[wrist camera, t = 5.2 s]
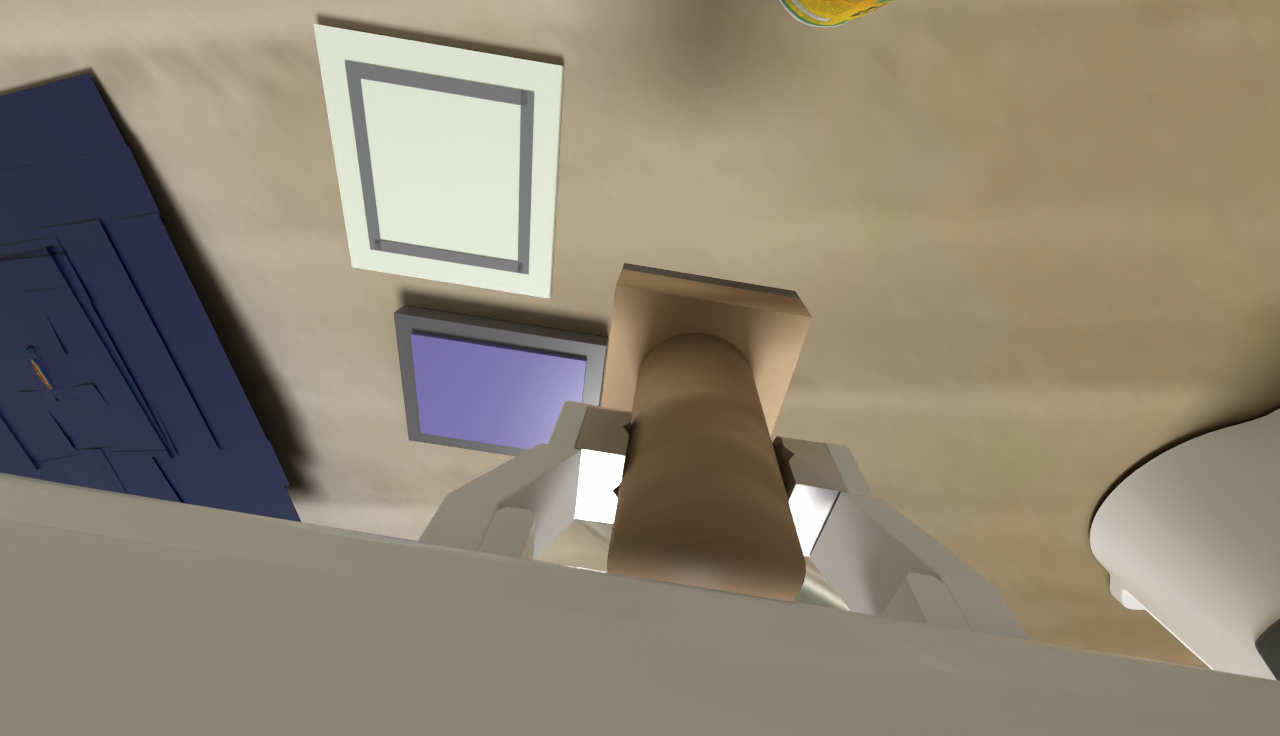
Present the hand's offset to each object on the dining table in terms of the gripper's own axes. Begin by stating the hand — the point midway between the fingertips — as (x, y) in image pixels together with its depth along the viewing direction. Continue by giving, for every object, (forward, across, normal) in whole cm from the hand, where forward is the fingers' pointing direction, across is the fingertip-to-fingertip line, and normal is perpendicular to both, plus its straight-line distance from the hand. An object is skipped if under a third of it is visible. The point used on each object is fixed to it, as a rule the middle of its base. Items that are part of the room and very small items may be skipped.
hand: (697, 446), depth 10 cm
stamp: (+5, 0, 0) cm, 5 cm away
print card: (+16, +13, -2) cm, 20 cm away
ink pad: (+16, +10, +10) cm, 21 cm away
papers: (+16, +37, +13) cm, 42 cm away
